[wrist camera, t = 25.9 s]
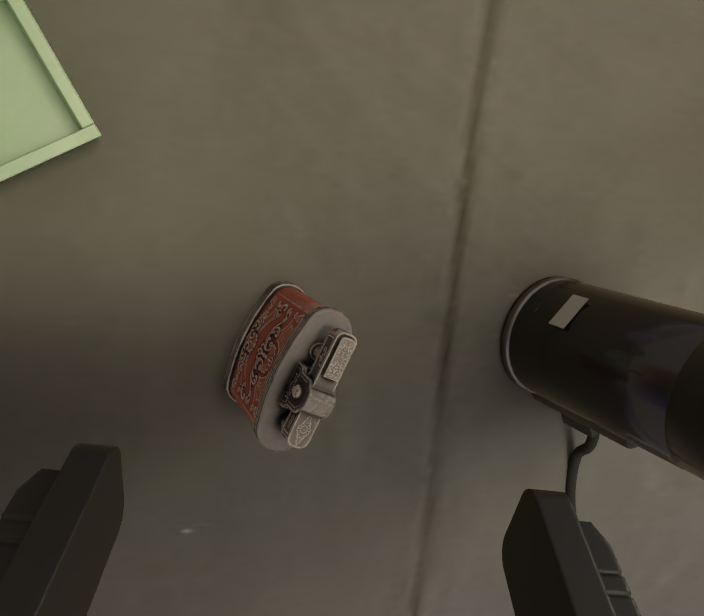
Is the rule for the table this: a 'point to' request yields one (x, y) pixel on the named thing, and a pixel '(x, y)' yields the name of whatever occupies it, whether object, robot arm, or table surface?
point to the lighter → (288, 365)
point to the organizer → (35, 97)
